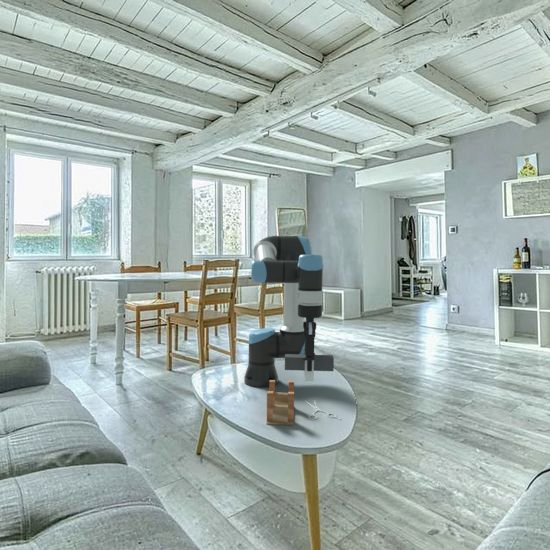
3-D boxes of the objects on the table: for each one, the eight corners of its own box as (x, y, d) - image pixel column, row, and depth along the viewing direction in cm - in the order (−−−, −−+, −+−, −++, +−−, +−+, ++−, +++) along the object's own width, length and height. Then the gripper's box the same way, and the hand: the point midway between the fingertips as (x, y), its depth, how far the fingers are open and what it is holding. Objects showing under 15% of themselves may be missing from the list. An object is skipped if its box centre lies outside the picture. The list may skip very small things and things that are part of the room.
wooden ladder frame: (269, 405, 143) (269, 379, 142) (293, 406, 142) (294, 379, 142) (266, 424, 127) (266, 394, 126) (293, 425, 126) (294, 395, 126)
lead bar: (332, 367, 122) (332, 355, 122) (333, 371, 118) (333, 358, 118) (285, 366, 123) (285, 354, 122) (284, 370, 119) (284, 357, 118)
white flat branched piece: (311, 421, 129) (296, 399, 149) (311, 423, 129) (295, 401, 149) (341, 419, 131) (322, 397, 151) (341, 421, 131) (322, 399, 151)
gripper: (297, 301, 128) (296, 370, 129) (298, 307, 111) (297, 387, 112) (320, 301, 128) (319, 370, 129) (324, 307, 111) (322, 387, 112)
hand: (308, 378), depth 120 cm, fingers closed on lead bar, 4 cm apart
